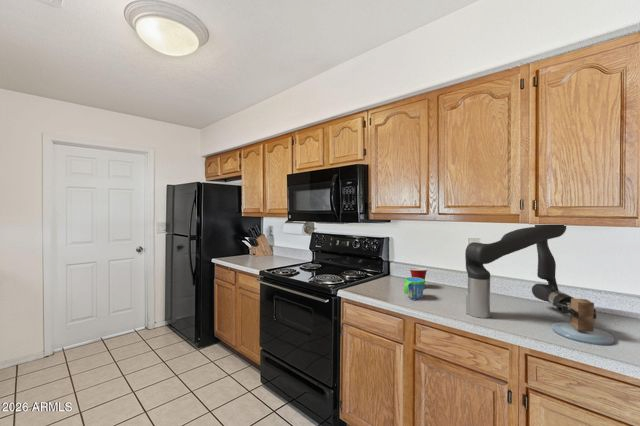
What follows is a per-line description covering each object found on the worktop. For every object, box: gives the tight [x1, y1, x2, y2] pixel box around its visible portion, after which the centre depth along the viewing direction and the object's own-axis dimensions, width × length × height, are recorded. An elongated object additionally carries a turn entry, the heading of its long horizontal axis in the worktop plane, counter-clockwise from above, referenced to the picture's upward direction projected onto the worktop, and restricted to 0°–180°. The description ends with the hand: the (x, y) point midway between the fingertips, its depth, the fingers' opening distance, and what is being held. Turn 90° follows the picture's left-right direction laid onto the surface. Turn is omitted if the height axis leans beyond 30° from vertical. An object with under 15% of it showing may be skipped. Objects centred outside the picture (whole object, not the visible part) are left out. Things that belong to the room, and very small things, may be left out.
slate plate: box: [552, 322, 615, 346], centre depth 116 cm, size 18×18×1 cm
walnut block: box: [570, 297, 595, 332], centre depth 116 cm, size 5×5×11 cm
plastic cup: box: [408, 267, 428, 281], centre depth 185 cm, size 11×11×12 cm
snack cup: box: [403, 276, 426, 300], centre depth 164 cm, size 16×10×10 cm
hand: (586, 315), depth 113 cm, fingers closed on walnut block, 5 cm apart
